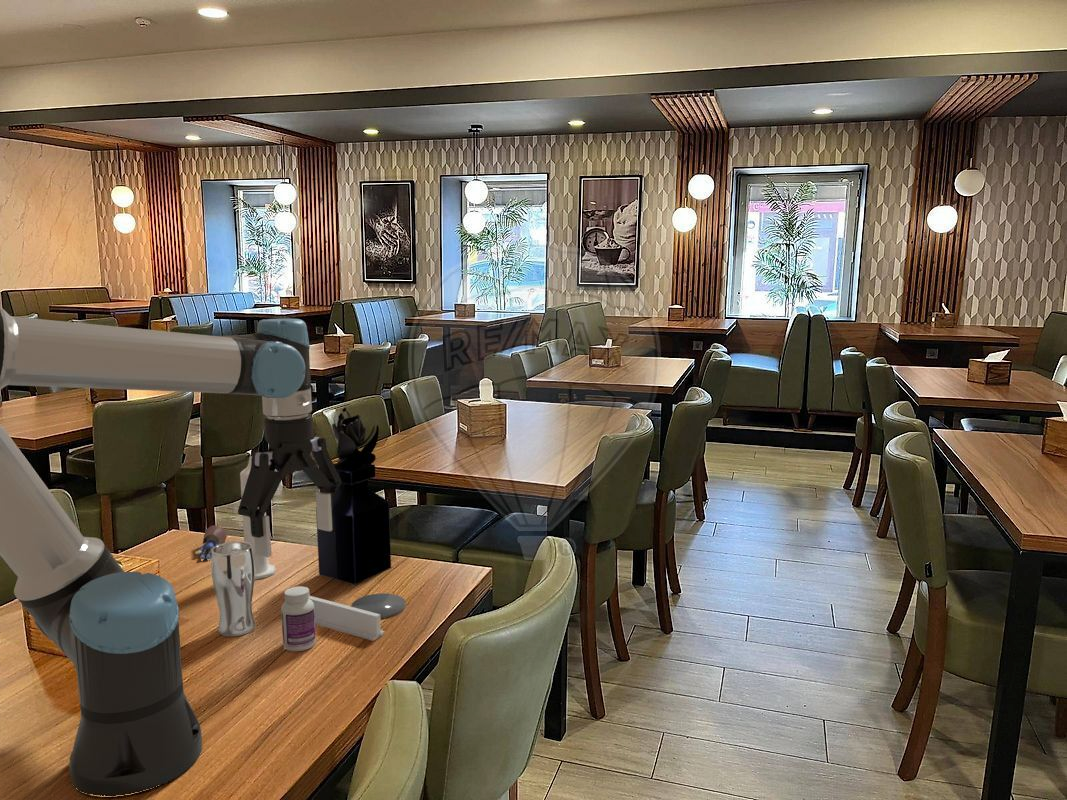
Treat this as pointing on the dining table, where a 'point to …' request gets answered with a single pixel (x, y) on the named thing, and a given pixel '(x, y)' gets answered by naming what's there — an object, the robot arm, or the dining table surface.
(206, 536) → the figurine
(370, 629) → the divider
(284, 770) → the dining table surface
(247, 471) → the candle
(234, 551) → the beer glass
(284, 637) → the pill bottle
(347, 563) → the vase
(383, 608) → the coaster
